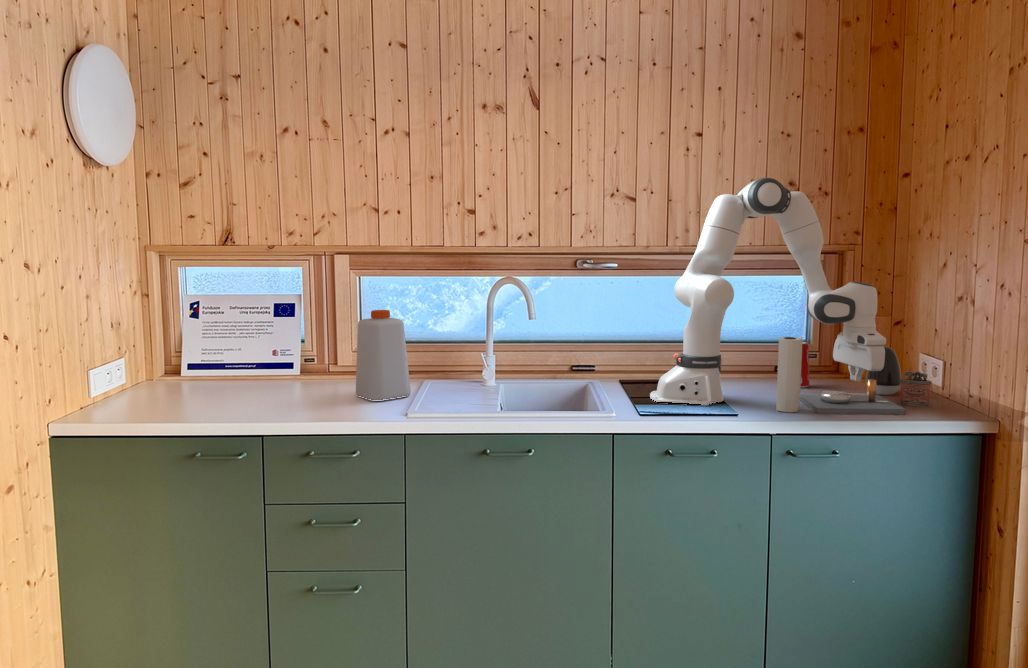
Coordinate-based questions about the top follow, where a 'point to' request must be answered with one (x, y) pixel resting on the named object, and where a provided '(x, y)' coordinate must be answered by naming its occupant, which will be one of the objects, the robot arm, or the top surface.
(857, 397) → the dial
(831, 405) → the slate board
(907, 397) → the brown textured block
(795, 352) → the paper towel roll
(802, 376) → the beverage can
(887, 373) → the black egg-shaped dome
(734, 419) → the top surface
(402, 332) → the plastic bottle
